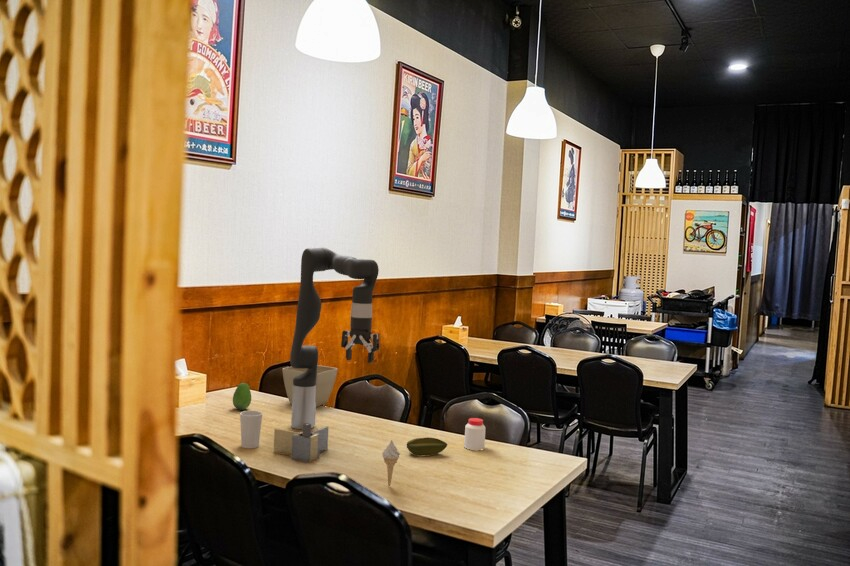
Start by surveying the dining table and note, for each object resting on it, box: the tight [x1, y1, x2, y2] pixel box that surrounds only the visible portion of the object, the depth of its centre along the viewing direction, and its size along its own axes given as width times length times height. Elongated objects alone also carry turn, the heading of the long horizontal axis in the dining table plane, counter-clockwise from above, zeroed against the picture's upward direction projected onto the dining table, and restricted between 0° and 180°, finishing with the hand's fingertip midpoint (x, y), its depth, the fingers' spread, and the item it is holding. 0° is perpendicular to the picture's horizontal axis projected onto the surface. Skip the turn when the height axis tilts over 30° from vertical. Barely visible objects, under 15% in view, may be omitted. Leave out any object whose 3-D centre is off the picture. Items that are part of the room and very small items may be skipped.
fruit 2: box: [406, 437, 448, 456], centre depth 256 cm, size 11×12×7 cm
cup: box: [239, 410, 263, 449], centre depth 256 cm, size 8×8×12 cm
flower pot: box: [282, 364, 338, 408], centre depth 326 cm, size 19×19×17 cm
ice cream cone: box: [381, 439, 401, 487], centre depth 220 cm, size 6×6×15 cm
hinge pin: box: [301, 423, 312, 437], centre depth 245 cm, size 3×3×12 cm
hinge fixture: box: [273, 425, 329, 463], centre depth 251 cm, size 17×17×8 cm
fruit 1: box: [232, 382, 252, 411], centre depth 309 cm, size 8×8×12 cm
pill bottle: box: [463, 417, 486, 450], centre depth 268 cm, size 8×8×11 cm
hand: (359, 361), depth 248 cm, fingers open, 8 cm apart
